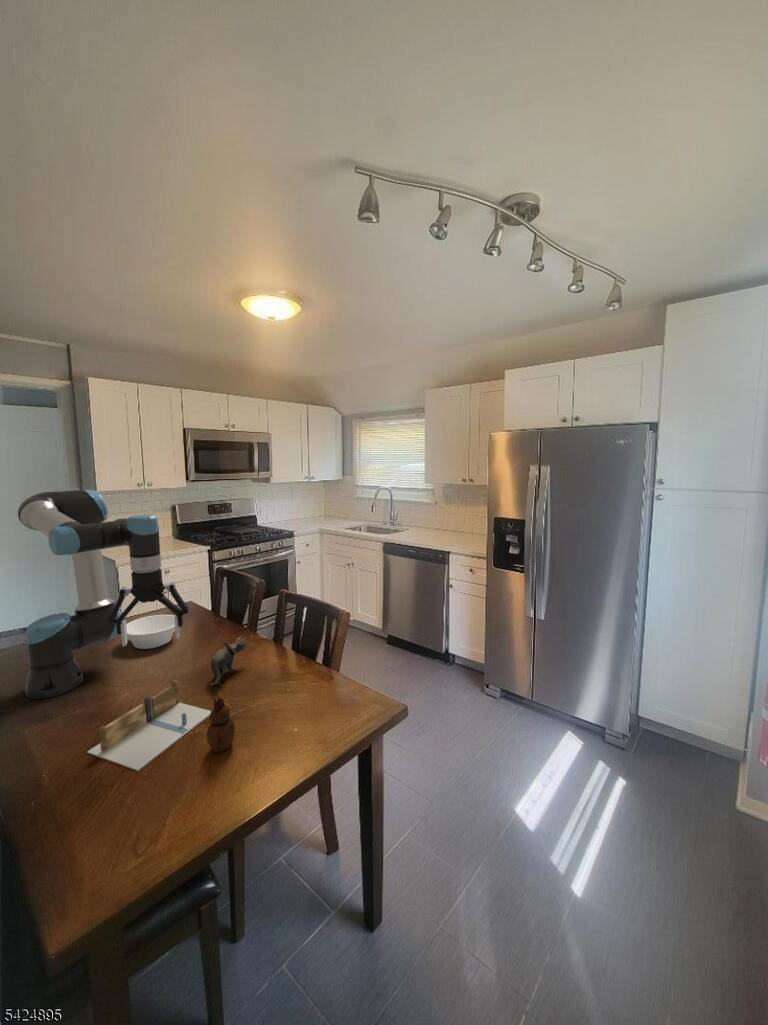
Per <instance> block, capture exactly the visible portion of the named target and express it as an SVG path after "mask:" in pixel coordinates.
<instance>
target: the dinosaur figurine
mask: <svg viewBox="0 0 768 1025" xmlns="http://www.w3.org/2000/svg"><path fill="white" fill-rule="evenodd" d="M243 636H244V635H243V634H242V635H241V636H240V637H238V638H237V639H236V640H235V642H234V643H232V644H230V643H229V642H227V641H224V642H223V643H224V646H225V647H226V648H222V649H220V650H218V651H216V652H215V654H214V655H213V656H212V658H211V661H210V668H211V671H212V673H213V676H214V677H213V678H212V680H214V682H211V683H210V684H209V686H215V685H217V686H222V683H221V682H220V681H221V679H222V676H223V675H224V674H225V672H226V670H228V671H229V674H234V673H235V672H236V671H237V669H236V668H233V667H232V665H233V661H234V659H235V658H234V657H235V655H237V654H239V653H240V652H242V651H243V650H245V649H246V648H247V643H246V641H245V639H246V637H243ZM242 637H243V639H241V638H242Z"/></svg>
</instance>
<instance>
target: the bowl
mask: <svg viewBox="0 0 768 1025" xmlns="http://www.w3.org/2000/svg"><path fill="white" fill-rule="evenodd" d="M174 618H175V614H174V615H173V614H154V615H149V616H143V617H140V618H137V619H135V620H132V621H129V622H126V629H127V641H131V643H132V645H133V647H134V648H136V649H140V650H141V649H142V650H145V649H146V650H148V649H154V648H158V647H160V646H164V645H165V644H166V645H167V644H168V643H170V641H171V640H172V638H173V635H174V633H175V619H174Z"/></svg>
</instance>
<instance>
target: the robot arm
mask: <svg viewBox="0 0 768 1025" xmlns="http://www.w3.org/2000/svg"><path fill="white" fill-rule="evenodd" d="M108 514H109V512H108V506H107V503H106V501H105V499H104V496H102V495H101V493H100V492H99V491H97V490H95V489H78V490H77V489H75V490H61V491H59V490H58V491H44V492H39V493H36V494H34V495H31V496H30V497H27V498H26V499H25V500H23V501H22V502H21V504H20V505H19V507H18V510H17V517H18V520H19V522H20V523H21V524H22V525H23V526H25V527H26V528H28V529H30V530H32V531H37V532H40V533H42V534H43V535H44V536H46V537H47V540H48V546H49V548H50V550H51V552H52V554H53V555H56V556H65V555H68V556H70V555H71V558H72V559H71V560H72V565H73V571H74V572H73V574H74V578H75V584H76V592H77V599H78V604H77V606H76V607H75V608H74V614H73V615H70V614H69V613H67V612H59V613H54V614H49V615H46V616H44V617H43V616H42V617H41V618H39V619H36V620H35V621H33V622H31V623H30V624H29V625H28V626H27V627H26V630H25V643H26V647H27V649H26V650H27V656H28V657H27V658H28V665H29V673H28V675H27V680H26V684H25V685H24V694H25V696H26V697H27V698H29V699H32V700H41V699H49V698H52V697H57V696H60V695H62V694H66V693H68V692H70V691H72V690H74V689H76V688H77V687H78V686H79V685H81V684H82V682H83V681H84V675H83V672H82V669H81V668H80V666H79V664H78V662H77V661H76V659H75V651H77V650H80V649H84V648H87V647H90V646H93V645H97V644H99V643H103V642H108V641H110V640H112V639H115V638H117V637H118V636H120V635H121V645H122V647H126V646H127V644H128V641H129V640H128V639H127V629H126V624H127V621H126V620H124V619H125V618H126V617H127V616H128V614H130V612H132V609H133V608H134V607H135V606H136V605H137V603H139V602H140V603H142V604H144V603H148V602H149V603H150V602H151V603H153V602H156V601H158V602H159V603H161V604H162V605H163V606H165V607H166V608H167V609H168V610H169V611H171V612H172V613H173V614H174V616H175V618H174V619H175V632H174V633H175V639H176V640H178V639H180V635H181V634H180V627H183V624H184V619H183V615H187V614H189V611H190V608H189V606H188V605H187V604H186V602H185V601H184V600H183V597H182V596H181V595H180V593H179V592H178V590H177V587H176V583H175V582H171V583H169V584H164V583H163V573H162V569H161V567H162V556H161V547H160V546H161V544H160V526H159V521H158V517H157V516H156V515H154V514H136V515H135V514H134V515H132V516H129V517H128V518H126V517H125V518H116V519H114V520H109V521H107V520H108V516H109V515H108ZM123 546H128V549H129V561H130V564H129V565H130V570H131V571H132V572H131V587H130V588H129V587H126V586H123V587H121V589H120V590H119V591H118V598H117V601H116V602H115V600H114V599H112V598H110V597H109V594H108V586H107V580H106V574H105V573H106V572H105V567H104V560H103V554H102V550H105V549H110V548H118V547H123ZM165 590H166V591H167V592H168V593H170V595H171V597H172V598H173V599H174V601H175V603H176V604H177V605H178V606H177V605H176V604H175V603H174V602H172V601H171V600H170V599H169V598H168V597H167V596H166V595H165V594H164V593H163V592H164V591H165ZM129 594H132V596H133V597H134V598H133V599H132V601H131V602H130V603H129V604H128V606H127V607H126V608H125V609H124V610H123V611H122V604H123V603H124V600H125V599H126V597H127V596H128V595H129Z"/></svg>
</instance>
